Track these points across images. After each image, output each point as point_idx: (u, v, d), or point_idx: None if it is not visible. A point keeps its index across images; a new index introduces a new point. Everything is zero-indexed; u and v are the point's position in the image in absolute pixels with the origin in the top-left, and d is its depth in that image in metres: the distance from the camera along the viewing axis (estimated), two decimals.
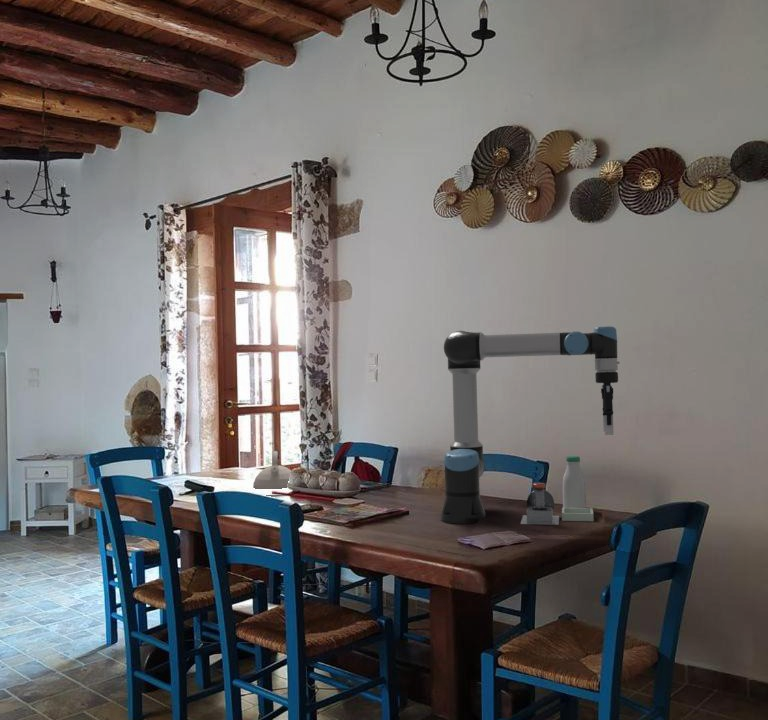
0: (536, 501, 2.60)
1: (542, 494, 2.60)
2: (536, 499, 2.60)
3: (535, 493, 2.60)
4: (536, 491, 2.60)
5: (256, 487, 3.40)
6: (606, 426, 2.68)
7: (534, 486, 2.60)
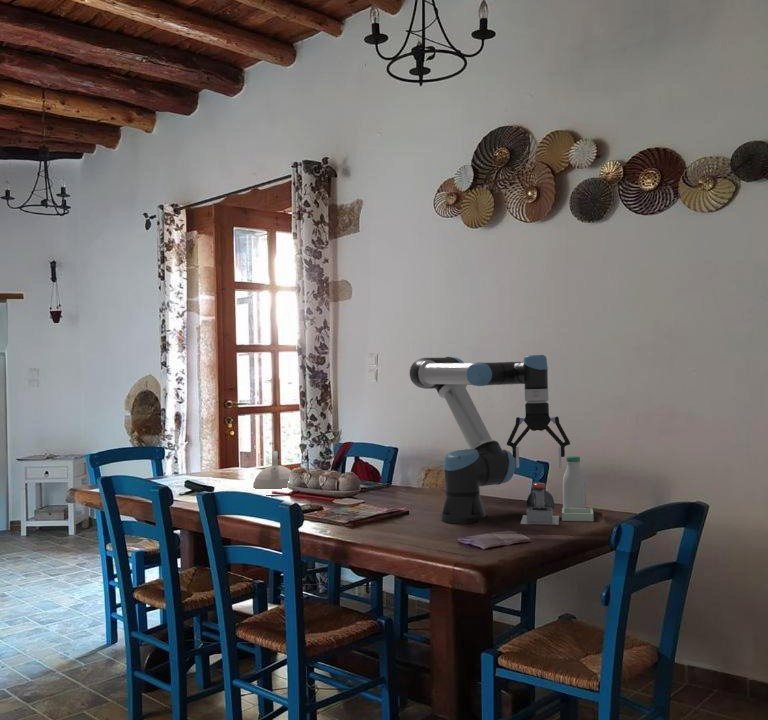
0: (536, 501, 2.60)
1: (542, 494, 2.60)
2: (536, 499, 2.60)
3: (535, 493, 2.60)
4: (536, 491, 2.60)
5: (256, 487, 3.40)
6: None
7: (534, 486, 2.60)
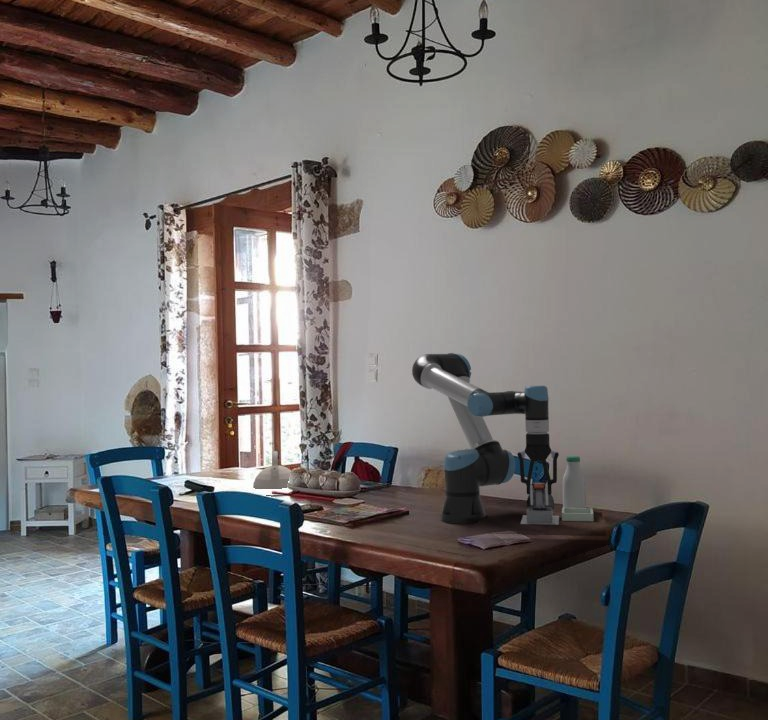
0: (536, 501, 2.60)
1: (542, 494, 2.60)
2: (536, 499, 2.60)
3: (535, 493, 2.60)
4: (536, 491, 2.60)
5: (256, 487, 3.40)
6: None
7: (534, 486, 2.60)
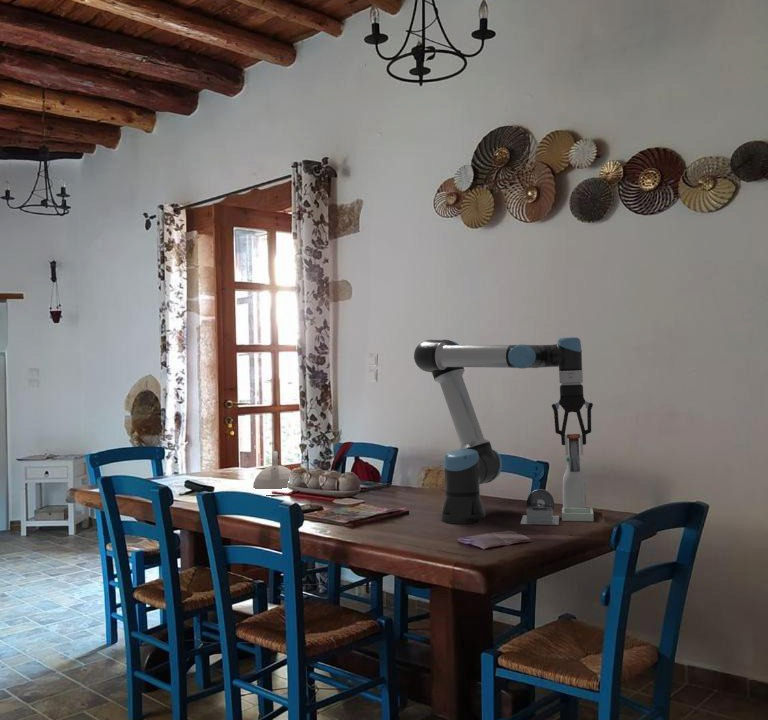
0: (571, 451, 2.63)
1: (577, 444, 2.63)
2: (571, 449, 2.63)
3: (570, 443, 2.63)
4: (571, 441, 2.63)
5: (256, 487, 3.40)
6: None
7: (569, 436, 2.63)
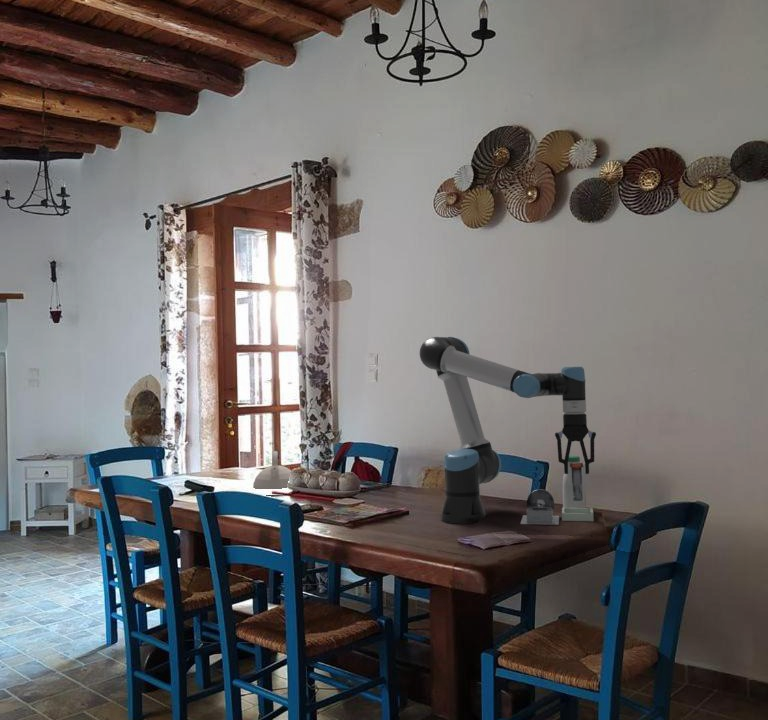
0: (574, 480, 2.63)
1: (580, 473, 2.63)
2: (574, 478, 2.63)
3: (573, 472, 2.64)
4: (574, 470, 2.63)
5: (256, 487, 3.40)
6: None
7: (572, 465, 2.63)
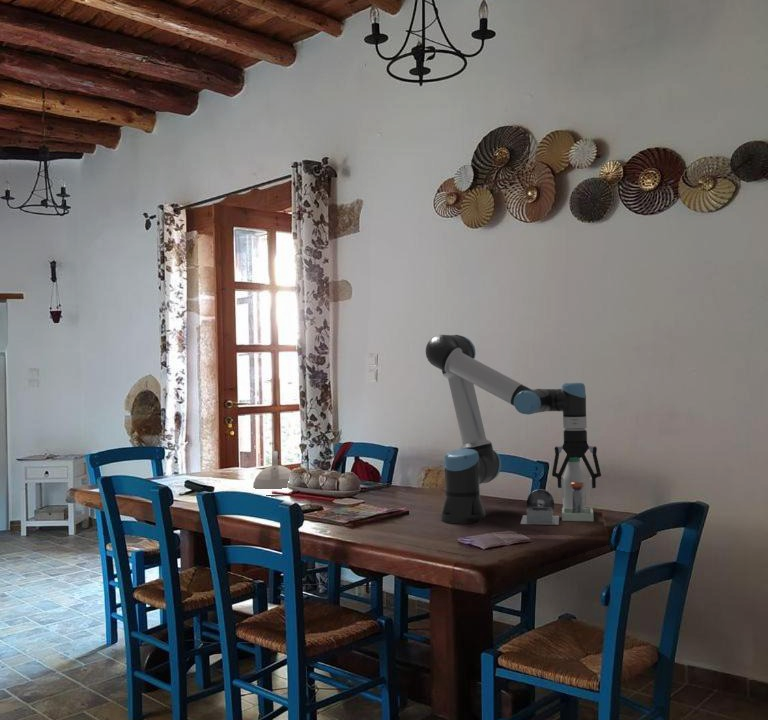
0: (574, 500, 2.63)
1: (580, 493, 2.63)
2: (574, 498, 2.63)
3: (573, 492, 2.64)
4: (574, 490, 2.63)
5: (256, 487, 3.40)
6: None
7: (572, 485, 2.63)
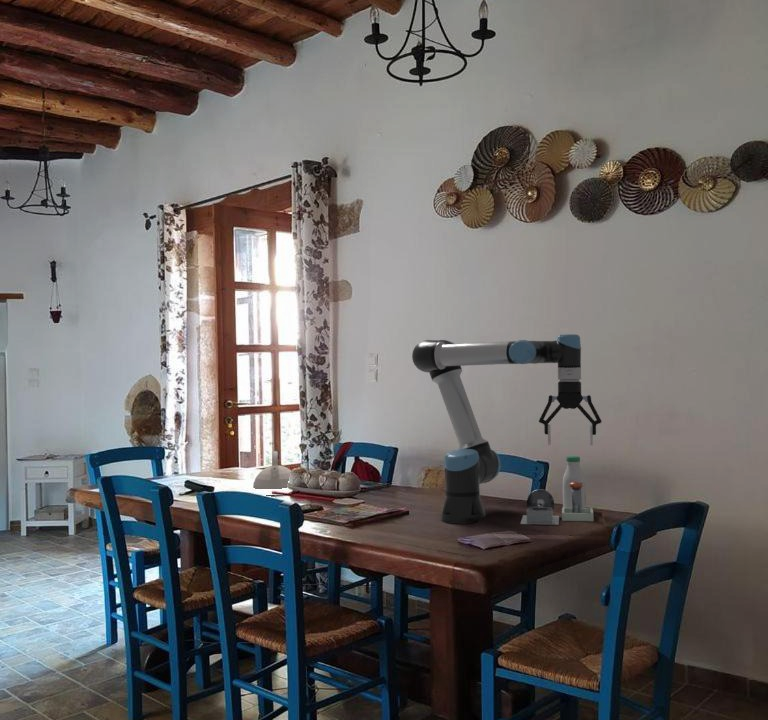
0: (574, 500, 2.63)
1: (579, 493, 2.63)
2: (574, 498, 2.63)
3: (572, 492, 2.64)
4: (573, 490, 2.63)
5: (256, 487, 3.40)
6: None
7: (571, 485, 2.63)
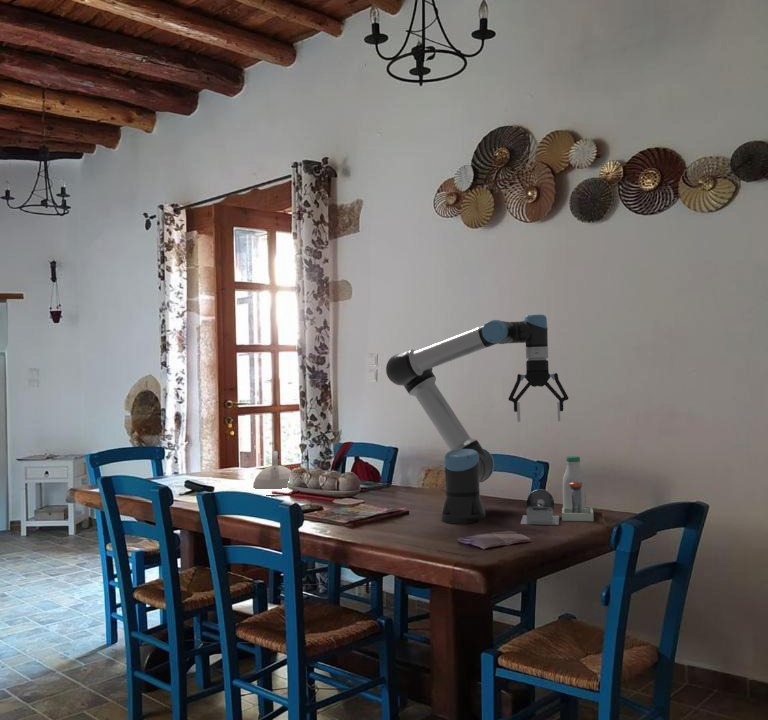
0: (573, 500, 2.63)
1: (579, 493, 2.63)
2: (573, 498, 2.63)
3: (572, 492, 2.64)
4: (573, 490, 2.63)
5: (256, 487, 3.40)
6: None
7: (571, 485, 2.63)
